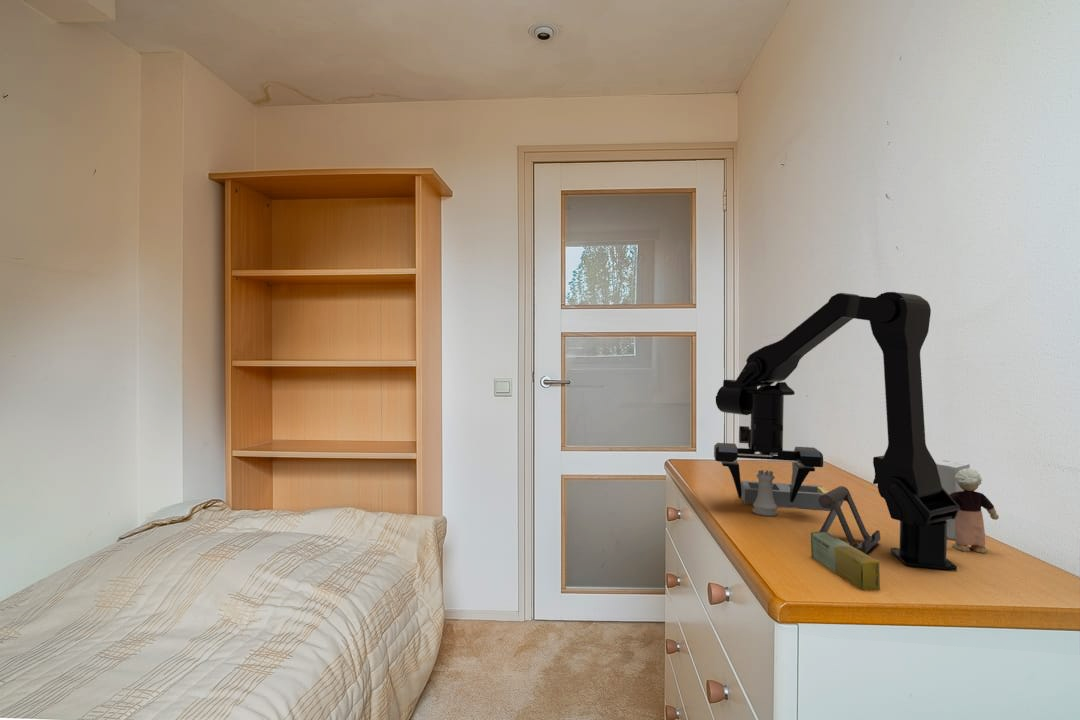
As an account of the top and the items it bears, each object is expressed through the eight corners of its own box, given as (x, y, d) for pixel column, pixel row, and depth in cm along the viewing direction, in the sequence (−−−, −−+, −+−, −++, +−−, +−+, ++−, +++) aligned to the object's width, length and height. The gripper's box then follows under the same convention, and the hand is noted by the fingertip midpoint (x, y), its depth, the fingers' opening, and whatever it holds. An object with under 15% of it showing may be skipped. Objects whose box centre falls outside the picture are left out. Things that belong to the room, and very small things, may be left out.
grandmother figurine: (984, 546, 89) (985, 466, 89) (1001, 554, 86) (1003, 471, 85) (932, 543, 90) (934, 465, 90) (947, 552, 86) (949, 470, 86)
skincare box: (955, 541, 92) (957, 467, 92) (925, 533, 95) (926, 462, 95) (971, 534, 95) (972, 463, 95) (941, 527, 99) (942, 459, 99)
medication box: (809, 558, 84) (809, 531, 84) (827, 557, 84) (826, 530, 84) (861, 592, 72) (861, 561, 72) (881, 591, 72) (881, 560, 72)
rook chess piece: (781, 517, 104) (782, 474, 104) (757, 516, 104) (758, 473, 104) (772, 510, 109) (772, 469, 108) (748, 510, 109) (749, 468, 109)
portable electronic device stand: (865, 558, 83) (866, 502, 83) (809, 545, 89) (810, 492, 89) (880, 544, 90) (881, 492, 90) (827, 533, 95) (828, 484, 95)
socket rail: (831, 510, 109) (832, 495, 109) (744, 504, 113) (745, 489, 113) (821, 500, 117) (822, 485, 117) (740, 494, 121) (740, 480, 121)
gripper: (810, 415, 112) (809, 493, 112) (713, 411, 116) (711, 486, 116) (824, 421, 101) (823, 508, 101) (716, 417, 105) (714, 500, 106)
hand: (765, 499), depth 106 cm, fingers open, 9 cm apart
